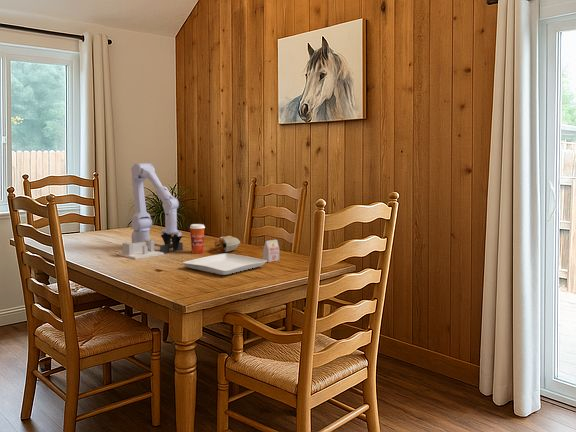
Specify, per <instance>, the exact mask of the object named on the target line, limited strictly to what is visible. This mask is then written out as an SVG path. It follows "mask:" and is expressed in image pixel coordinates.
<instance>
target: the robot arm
mask: <svg viewBox="0 0 576 432" xmlns="http://www.w3.org/2000/svg"><path fill="white" fill-rule="evenodd" d="M130 170H131V185H132V194H133V202H134V210H135V211H134V212H135V213H134V214H133V215H132V216H131V225H130V226H131V228H132V230H133V231H132V233H131V243H137V242H144V240H147V239H148V240H150V231H151V228H152V227H153V220H152V217H151V214H150V213H149V212H147V205H146V199H145V198H146V197H145V189H144V182H145V180H146V179H147V180H149V181H150V183H151V184H152V186H153V187H154V188H155V189H156V192H155V193H156V195H157V196H158V198H159V199H160V201H161V203H162V204H161V205H162V209H163V212H164V221H165V222H164V223H165V227H164V228H163V229H161V230H160V231H161V233H160V236H161V238H162V240H163V243H164V244H163V245H166V244H170V241H171V240H172V242H171V243H172V244H173V248H172V249H173V250H177V249H178V245H179V242H181V239H182V232H181V231H179V229H178V214H177V213H178V208H179V207H180V202H179V200H178V197H174V196H173V195H172V193H171V192H170V191H169V189H168V187H166V186H163V184H162V183H161V181H160V179H159V177H158V175H157V174H156V168H155V167H154V165H153V164H152V163H151V162H145V163H138V162H137V163H134V164H133V165H132V166H131V168H130ZM173 250H172V251H173Z"/></svg>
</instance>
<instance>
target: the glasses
mask: <svg viewBox="0 0 576 432" xmlns="http://www.w3.org/2000/svg"><path fill="white" fill-rule="evenodd" d="M183 246H184V245H183V242H182V241H180V242H179V245H178V249H177V250H172V251H173V252H180V251H183V250H184V249H183V248H184V247H183ZM154 247H159V252H163V253H164V254H167V253H170V252H171V249H173V244H172V240H171V241H170V244H166V245H165V244H157V243H154Z"/></svg>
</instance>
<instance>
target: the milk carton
mask: <svg viewBox="0 0 576 432" xmlns="http://www.w3.org/2000/svg"><path fill="white" fill-rule="evenodd" d="M262 260H267V262H270V263H273V262H272V261H276V262H279V261H280V245H279V242H278V239H272V240H271V239H270V240H265V242H264V246H263V248H262ZM278 260H279V261H278ZM267 262H266V263H267Z"/></svg>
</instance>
